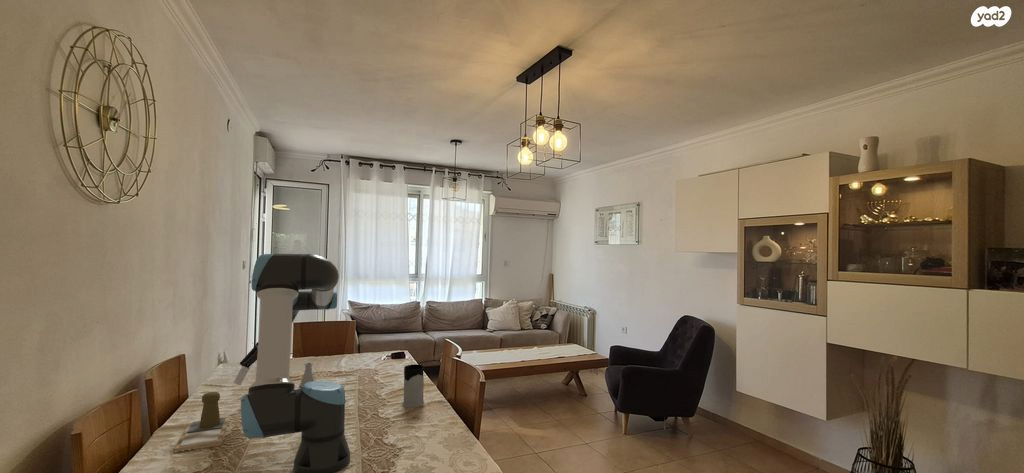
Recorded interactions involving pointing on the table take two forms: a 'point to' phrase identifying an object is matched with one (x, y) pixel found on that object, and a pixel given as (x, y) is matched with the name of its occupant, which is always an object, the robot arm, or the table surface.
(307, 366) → the flask
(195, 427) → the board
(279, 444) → the table surface
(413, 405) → the glass holder
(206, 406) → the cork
